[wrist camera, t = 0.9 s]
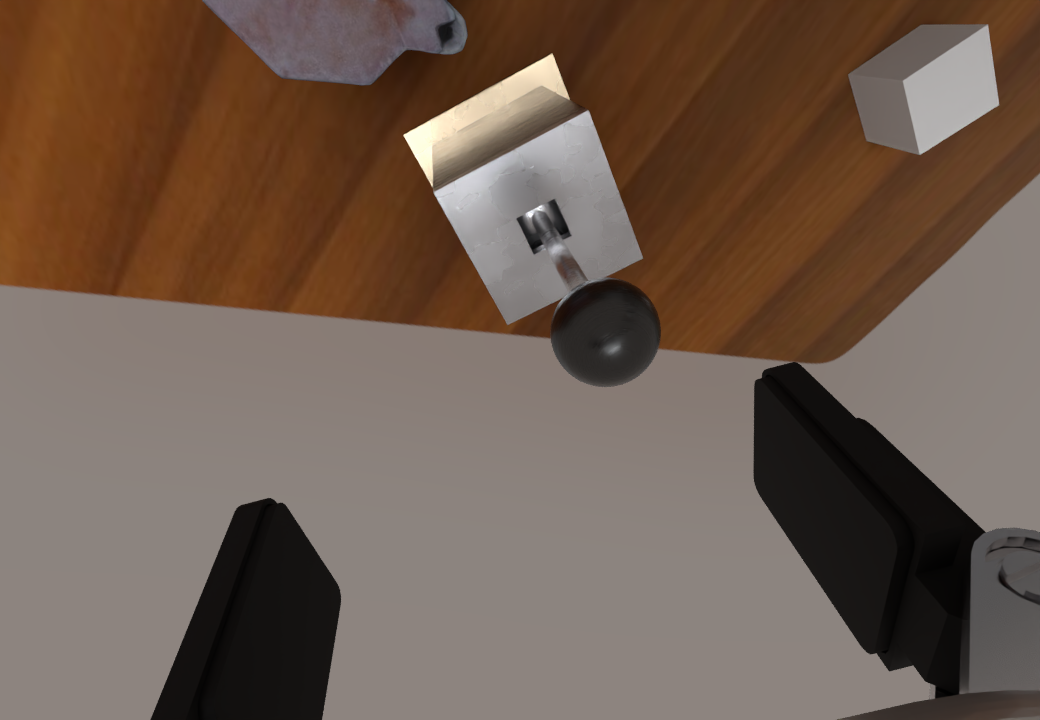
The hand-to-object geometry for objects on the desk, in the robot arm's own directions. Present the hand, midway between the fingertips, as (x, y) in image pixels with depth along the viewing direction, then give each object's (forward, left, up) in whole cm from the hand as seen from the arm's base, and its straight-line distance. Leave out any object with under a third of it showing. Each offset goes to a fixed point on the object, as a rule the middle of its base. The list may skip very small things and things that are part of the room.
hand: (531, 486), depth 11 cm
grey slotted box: (-3, +4, -37) cm, 37 cm away
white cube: (-33, +12, -37) cm, 51 cm away
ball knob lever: (-3, +4, -24) cm, 25 cm away
